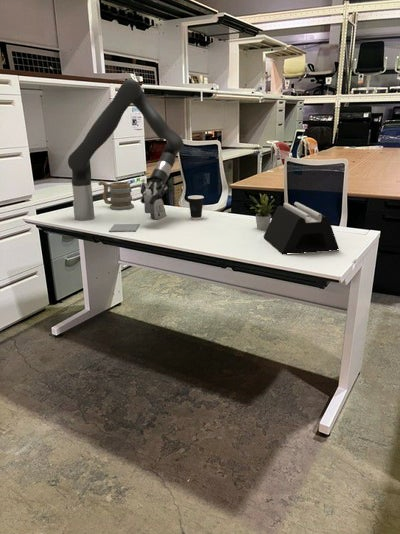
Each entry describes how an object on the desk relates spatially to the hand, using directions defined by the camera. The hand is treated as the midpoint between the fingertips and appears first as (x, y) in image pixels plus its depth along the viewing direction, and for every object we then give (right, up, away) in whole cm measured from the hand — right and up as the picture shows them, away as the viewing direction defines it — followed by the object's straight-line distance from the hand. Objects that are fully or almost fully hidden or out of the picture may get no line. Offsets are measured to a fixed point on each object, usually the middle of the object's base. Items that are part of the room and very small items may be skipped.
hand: (146, 203), depth 190 cm
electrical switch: (+2, -4, +23) cm, 24 cm away
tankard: (-24, +5, +48) cm, 54 cm away
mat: (-11, -11, +4) cm, 16 cm away
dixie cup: (+22, -5, +20) cm, 31 cm away
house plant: (+52, -11, +1) cm, 54 cm away
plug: (+1, -4, +3) cm, 5 cm away
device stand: (+64, -21, -23) cm, 71 cm away
